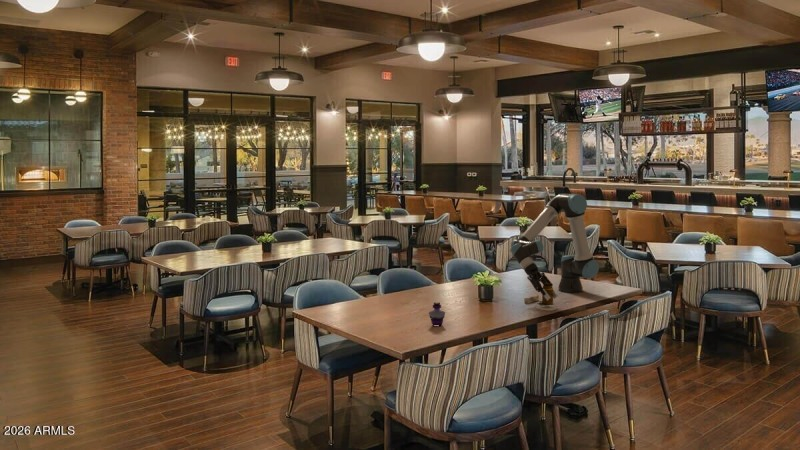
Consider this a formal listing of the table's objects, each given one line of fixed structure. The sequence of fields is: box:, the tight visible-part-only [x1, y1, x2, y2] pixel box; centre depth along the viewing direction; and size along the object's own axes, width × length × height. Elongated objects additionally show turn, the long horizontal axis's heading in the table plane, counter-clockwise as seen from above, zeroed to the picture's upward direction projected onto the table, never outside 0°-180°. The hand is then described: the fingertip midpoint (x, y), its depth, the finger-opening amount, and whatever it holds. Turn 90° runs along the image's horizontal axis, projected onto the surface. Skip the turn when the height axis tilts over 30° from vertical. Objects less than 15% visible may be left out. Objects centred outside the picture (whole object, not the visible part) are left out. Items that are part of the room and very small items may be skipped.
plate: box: [537, 304, 558, 311], centre depth 363 cm, size 11×11×1 cm
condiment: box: [536, 282, 556, 306], centre depth 361 cm, size 7×8×12 cm
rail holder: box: [523, 295, 542, 304], centre depth 376 cm, size 12×12×3 cm
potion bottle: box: [428, 301, 446, 326], centre depth 330 cm, size 9×9×12 cm
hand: (552, 298), depth 359 cm, fingers closed on condiment, 6 cm apart
